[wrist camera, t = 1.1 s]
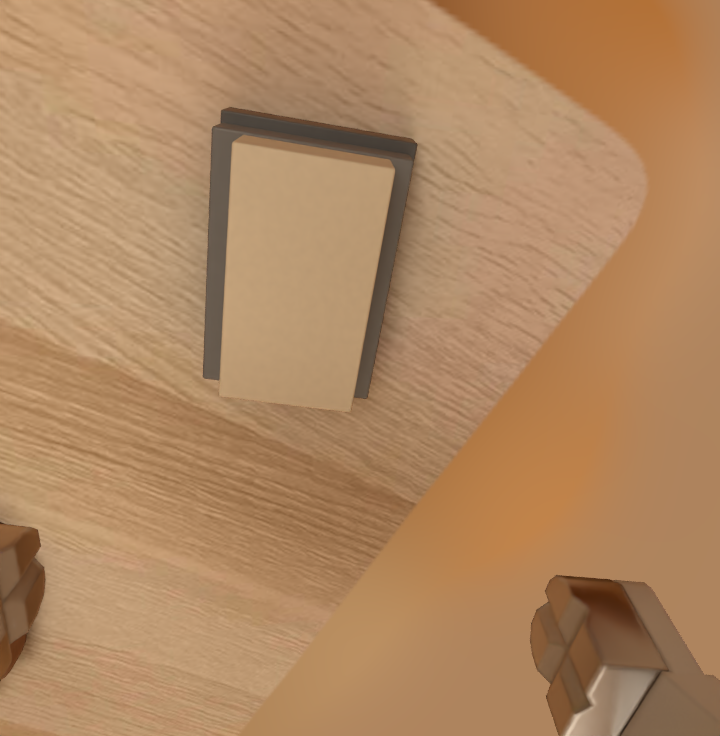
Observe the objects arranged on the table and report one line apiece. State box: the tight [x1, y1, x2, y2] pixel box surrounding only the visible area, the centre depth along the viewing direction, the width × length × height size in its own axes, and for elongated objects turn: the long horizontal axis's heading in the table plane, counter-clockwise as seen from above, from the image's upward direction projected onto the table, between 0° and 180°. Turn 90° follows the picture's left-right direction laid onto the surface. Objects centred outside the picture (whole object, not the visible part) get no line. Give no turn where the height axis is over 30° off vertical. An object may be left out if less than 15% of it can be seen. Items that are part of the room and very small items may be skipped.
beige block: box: [219, 135, 395, 412], centre depth 20 cm, size 9×5×2 cm, turn 171°
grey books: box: [203, 107, 417, 399], centre depth 22 cm, size 10×7×3 cm
